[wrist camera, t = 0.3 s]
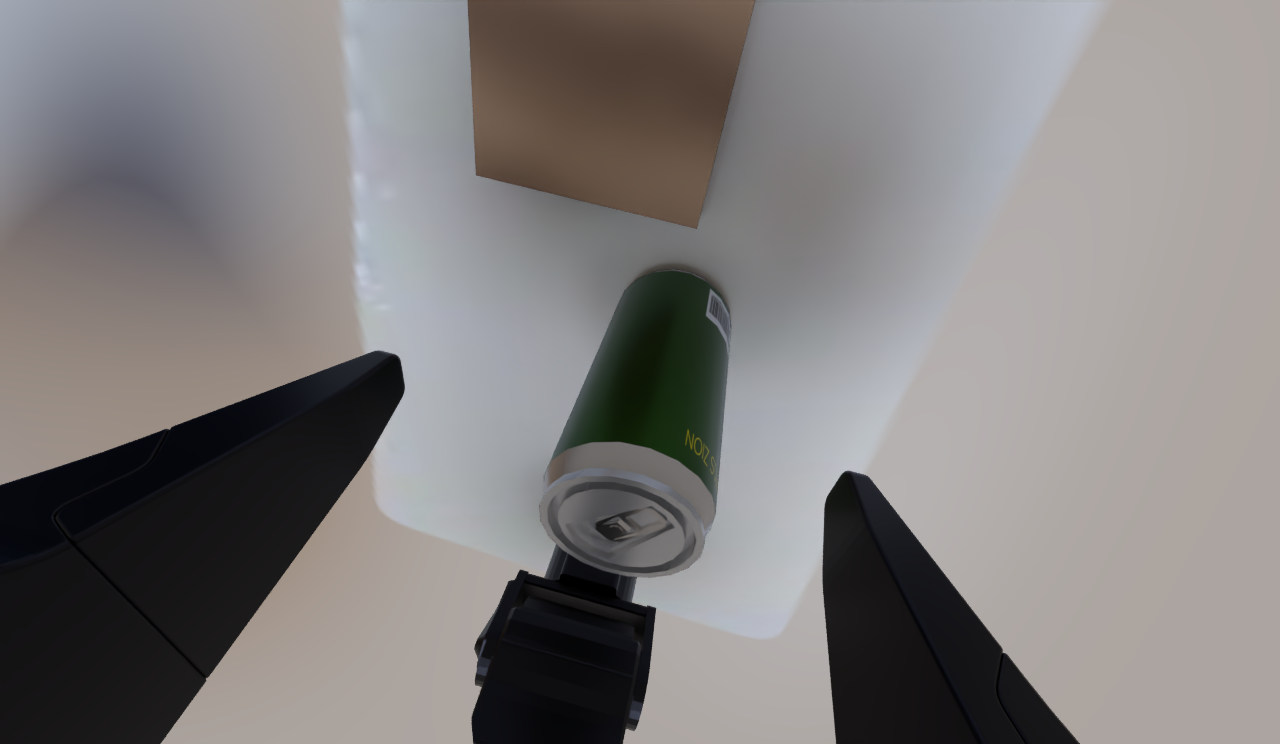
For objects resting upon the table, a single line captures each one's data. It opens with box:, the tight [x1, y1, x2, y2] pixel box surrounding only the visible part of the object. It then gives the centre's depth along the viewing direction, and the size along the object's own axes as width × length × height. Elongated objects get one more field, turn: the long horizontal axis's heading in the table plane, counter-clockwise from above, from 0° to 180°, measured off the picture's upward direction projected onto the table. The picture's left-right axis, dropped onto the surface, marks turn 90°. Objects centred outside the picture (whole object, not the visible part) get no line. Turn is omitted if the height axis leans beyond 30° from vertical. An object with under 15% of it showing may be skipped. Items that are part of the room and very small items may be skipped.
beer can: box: [540, 269, 731, 578], centre depth 19 cm, size 5×5×12 cm
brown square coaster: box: [468, 0, 755, 229], centre depth 17 cm, size 9×9×2 cm
